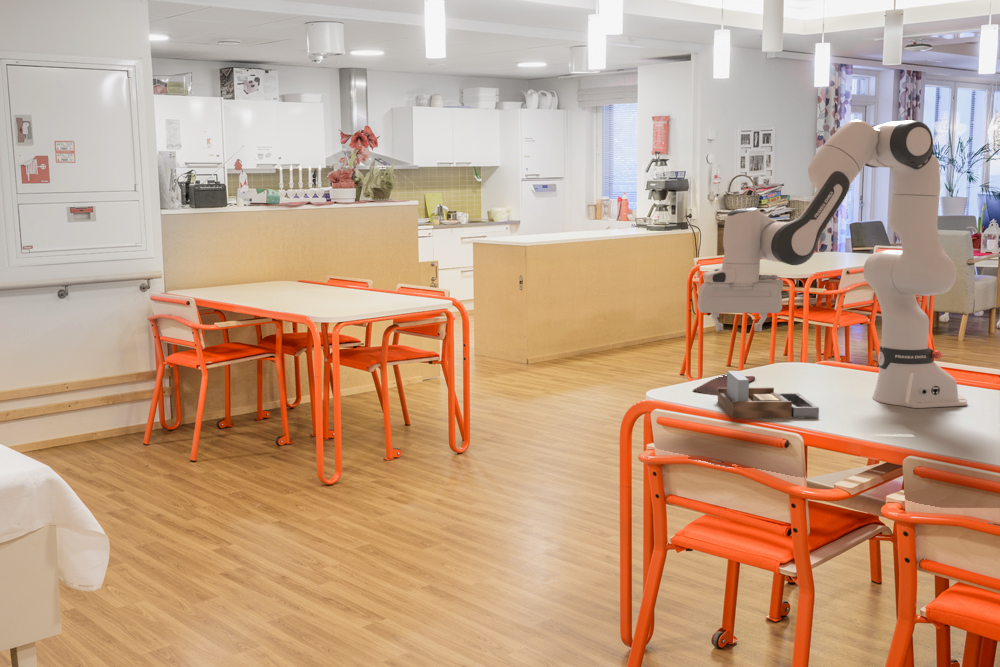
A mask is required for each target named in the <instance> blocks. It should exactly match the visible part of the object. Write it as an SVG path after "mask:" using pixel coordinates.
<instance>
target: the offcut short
mask: <svg viewBox="0 0 1000 667" xmlns="http://www.w3.org/2000/svg"><path fill="white" fill-rule="evenodd" d="M753 401H779V399H777V398H776V397H775V396H773V395H772V394H753Z"/></svg>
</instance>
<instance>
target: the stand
mask: <svg viewBox="0 0 1000 667" xmlns="http://www.w3.org/2000/svg"><path fill="white" fill-rule="evenodd" d="M775 393H776V394H777V395H778V396H779V397H781V398H782V399H783V400H785V401H791V402H792V413H791V418H793V419H819V415H820V414H819V412H820V407H819V406H817V405H816V404H815V403H813V402H811V401H810V400H809V399H807V398H806V397H804V396H803V395H802V394H800V393H799V392H779V393H778V392H775Z"/></svg>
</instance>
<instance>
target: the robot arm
mask: <svg viewBox="0 0 1000 667" xmlns="http://www.w3.org/2000/svg"><path fill="white" fill-rule="evenodd" d="M933 137H934V136H933V134H932V131H931V129H930V127H928V125H927V124H925V123H924V122H922V121H918V120H911V119H908V120H895V121H888V122H884V123H881V124H878V125H877V124H876V125H875V124H874V125H871V124H870V123H868V122H867V121H864V120H862V119H852V120H849V121H847V122H846V123H845V124H843V125H842V126H841V127H840V128H839V129H838V130H836V131H835V132H834V133H833V134H832V135H831V136H830V137H829V138H828V139H827V140H826V142H824V143H823V145H822V146H821V147H820V149H818V151H817V152H816V154H815V155H814V156H813V158H812V160H811V161H810V163H809V165H808V167H807V168H808V170H807V172H808V177H809V181H810V182H811V184H812V185H813V186H814V187H815V189H816V192H815V193H814V196H813V197H812V198H811V200H810V201H809V203H808V204H807V205H806V207H805V209H804V210H803V211H802V212H801V215H800V216H798V217H797V218H795V219H793V220H791V221H778V220H776V219H773V218H771V217H769V216H767V215H766V214H764V213H763V212H762V211H760V210H759V208H757V207H753V206H752V207H750V206H749V207H742V208H741V207H740V208H737V209H733V210H731V211H730V212H728V214H727V215H726V217H725V220H724V226H723V227H724V228H723V235H722V236H723V238H722V239H723V240H722V242H723V243H722V246H723V250H724V252H723V253H724V254H723V258H722V264H721V267H717V268H715V269H711V270H709V271H705V272H704V273H703V274H702V280H703V281H704V282H703V283H701V285H700V286H699V289H698V296H697V305H696V306H697V307H696V308H697V310H698V312H700V313H702V314H703V313H704V314H706V313H707V314H711V318H712V320H713V322H714V323H715V331H716V332H723V331H724V324H723V323H721V322H720V321H719V319H718V318H719V317H720V314H723V313H724V314H733V313H734V314H735V313H736V314H758V315H759V316H758V317H760V318H759V320H758V321H757V322H756V323H755V322H754V324H753V325H754V326H753V327H754V328H753V330H754V332H762V330H763V324H764V323H765V321H766V320H767V318H768V314H779V313H780V312H781V311H782V310H783V296H782V291H783V290H784V289H783V288H784V280H783V278H782V277H780V276H778V275H776V274H770V275H769V274H760V270H761V269H760V268H761V267H760V265H761V259H763V260H766V261H771V262H778V263H782V264H786V265H790V266H799V265H802V264H804V263H807V261H809V260H810V259H811V258H812V256H813V255H814V254H815V251H816V250H817V247H818V244H819V240H820V238H821V235H822V233H823V232H824V230H825V228H826V227H827V225H828V224H829V223H830V221H831V219H832V218H833V216H834V215H835V214H836V212H837V211H838V209H839V208H840V206H841V204H842V203H843V202H844V200H845V198H846V196H847V194H848V192H849V190H850V185H851V184H852V182H853V181H854V180H855V179H856V178H857V176H858V175H859V173H861V171H862V170H863V168H865V166H866V167H868V168H890V169H891V170H892V174H893V179H894V180H893V184H892V186H893V187H892V192H891V193H892V194H891V195H892V196H891V203H890V214H889V225H890V228H891V230H892V231H893V232H894V233H895V234H896V235H897V236H898V238H899V240H900V243H901V248H902V249H901V250H899V249H887V250H881V251H875V252H873V253H871V255H869V256H868V257H867V258H866V260H865V262H864V266H863V270H862V271H863V277H864V280H865V282H866V283H867V284H868V285H869V286H870V287H871V289H872V290H873V292H874V294H875V296H876V299H877V303H878V304H879V308H880V313H881V344H880V346H879V350H878V367H879V370H878V376H877V381H876V384H875V388H874V392H873V394H872V396H871V398H872V400H873V401H876V402H879V403H883V404H886V405H887V404H888V405H893V406H894V405H895V406H901V407H902V406H903V407H907V408H913V409H925V408H928V409H929V408H939V407H940V408H942V407H945V408H946V407H962V406H963V407H964V406H967V405H968V400H967V399H966V398H965V397H963V396H961V395H959V392H958V384H957V382H956V381H957V380H956V379H955V378H954V377H953V376H952V375H951V374H950V373H948V372H947V371H946V370H945V369H943V368H942V367H941V366H940V365H938V364H937V363H936V362H935V359H937V360H940V359H941V358H942V357H943V352H941V351H940V350H937V349H935V350H933V349H932V348H930V347H929V346H928V345H929V332H930V319H929V316H928V315H927V313H926V312H925V311H924V310H923V309H922V308H921V307H920V305H919V303H918V301H917V297H916V295H917V296H924V297H928V296H930V297H931V296H936V295H937V296H938V295H944V294H946V293H947V292H949V291H950V290H951V289H952V288H953V286H954V285H955V283H956V280H957V267H956V264H955V262H954V261H953V260H952V259H951V257H949V256H948V254H947V253H946V251H945V249H944V247H943V245H942V241H941V238H940V235H939V226H938V221H939V220H938V219H939V218H938V217H939V207H940V206H939V205H940V195H941V194H940V193H941V171H940V162H939V159H938V158H937V157H936V156H935V155H934V138H933Z"/></svg>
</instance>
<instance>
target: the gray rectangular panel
mask: <svg viewBox="0 0 1000 667" xmlns="http://www.w3.org/2000/svg"><path fill="white" fill-rule="evenodd" d="M726 374H727V397H728V398H729V399H730V400H731V401H748V395H749V388H750V387H749V386H750V382H749V380H748V379H747V378H746V377H745V376H744V374H742V373H741V372H739V371H738V370H727V373H726Z"/></svg>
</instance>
